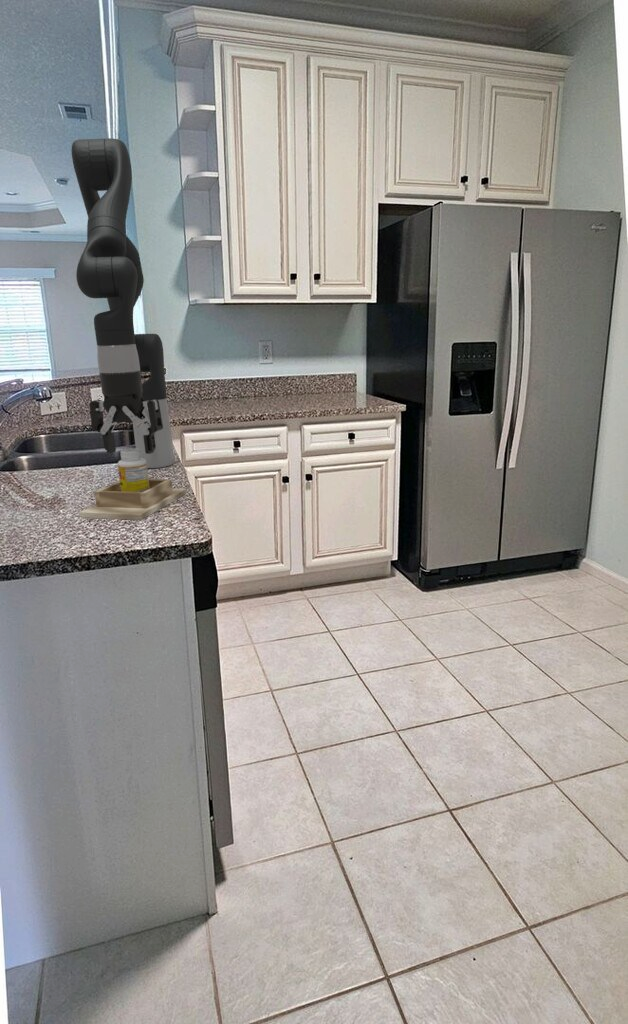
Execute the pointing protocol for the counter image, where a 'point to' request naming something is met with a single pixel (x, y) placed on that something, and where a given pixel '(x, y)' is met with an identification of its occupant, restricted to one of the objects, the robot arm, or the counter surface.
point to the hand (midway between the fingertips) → (130, 452)
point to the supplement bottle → (133, 471)
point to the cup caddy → (132, 501)
